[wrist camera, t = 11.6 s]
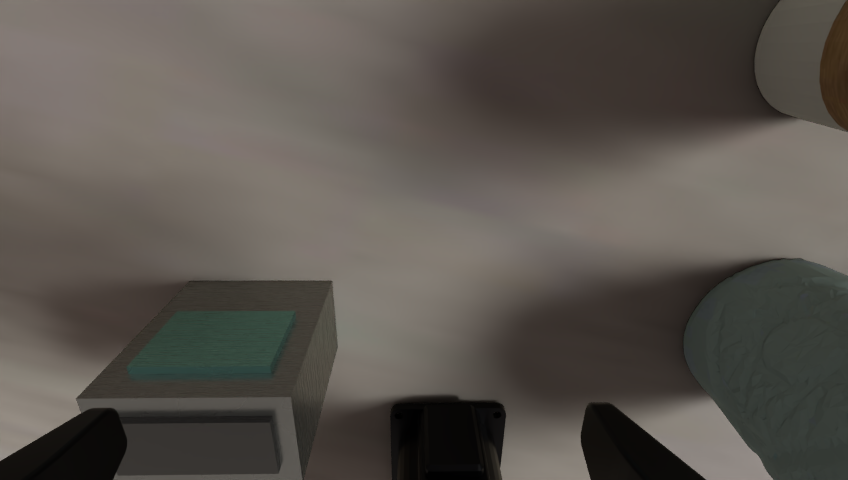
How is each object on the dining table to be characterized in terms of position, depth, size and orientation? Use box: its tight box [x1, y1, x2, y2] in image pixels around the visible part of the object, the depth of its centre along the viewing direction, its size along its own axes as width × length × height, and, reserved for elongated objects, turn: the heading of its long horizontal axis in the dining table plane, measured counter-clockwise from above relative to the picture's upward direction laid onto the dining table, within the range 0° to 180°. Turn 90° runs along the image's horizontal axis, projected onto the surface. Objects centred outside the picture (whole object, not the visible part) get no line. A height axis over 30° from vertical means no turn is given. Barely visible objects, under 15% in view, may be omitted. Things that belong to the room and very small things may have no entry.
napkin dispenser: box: [76, 281, 338, 480], centre depth 19 cm, size 4×7×8 cm, turn 90°
